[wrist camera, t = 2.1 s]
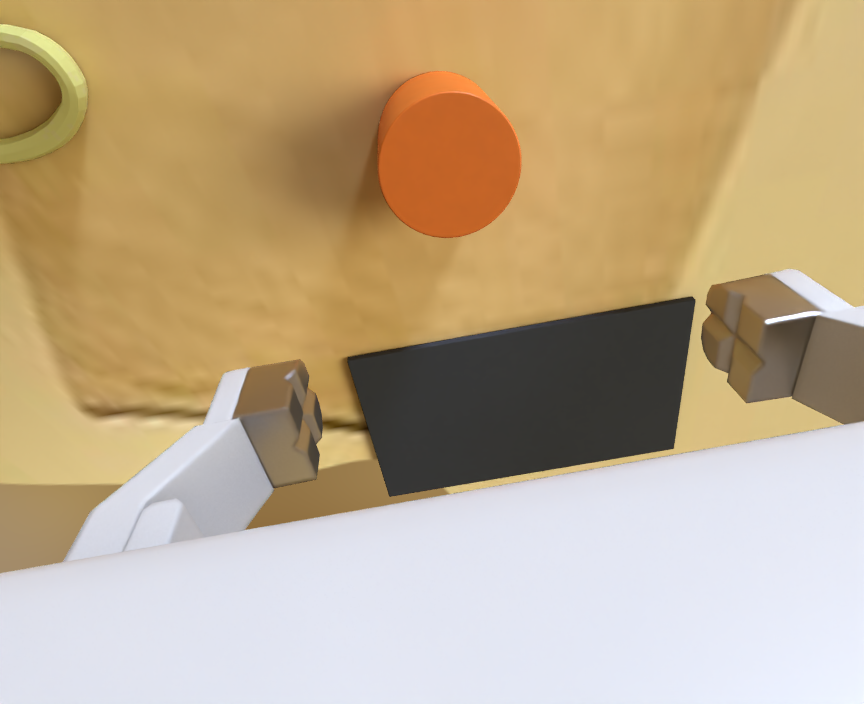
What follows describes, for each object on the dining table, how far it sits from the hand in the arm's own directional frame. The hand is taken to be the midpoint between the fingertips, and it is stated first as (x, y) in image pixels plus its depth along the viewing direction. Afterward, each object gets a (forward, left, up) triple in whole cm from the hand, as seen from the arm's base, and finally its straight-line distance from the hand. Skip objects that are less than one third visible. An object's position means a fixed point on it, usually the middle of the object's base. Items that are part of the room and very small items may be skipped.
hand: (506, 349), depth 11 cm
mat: (-3, +17, -17) cm, 24 cm away
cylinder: (0, 0, -17) cm, 17 cm away
